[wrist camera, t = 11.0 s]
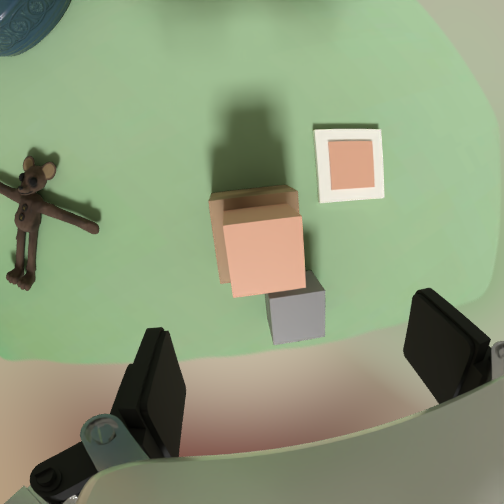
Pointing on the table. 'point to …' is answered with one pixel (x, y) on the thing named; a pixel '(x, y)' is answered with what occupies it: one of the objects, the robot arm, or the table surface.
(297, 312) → the charcoal block
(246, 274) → the terracotta block
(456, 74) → the table surface
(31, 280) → the brown spindly figurine
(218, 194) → the walnut block
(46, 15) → the canister
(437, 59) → the table surface
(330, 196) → the card
